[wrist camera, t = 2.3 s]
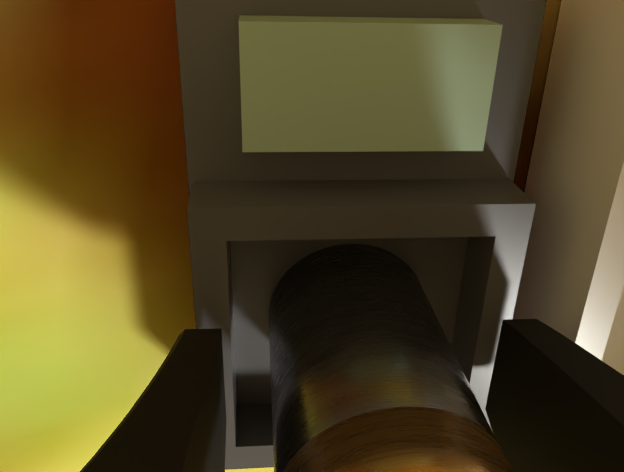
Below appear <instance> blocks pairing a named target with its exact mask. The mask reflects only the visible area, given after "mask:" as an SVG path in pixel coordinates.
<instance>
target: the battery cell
mask: <svg viewBox="0 0 624 472" xmlns="http://www.w3.org/2000/svg"><path fill="white" fill-rule="evenodd" d="M269 343H270V372H271V400H272V428H273V457H274V472H513V470H512V468H511V466H510V464H509V462H508V460H507V457H506V455H505V453H504V451H503V449H502V448H501V446H500V445H499V443H498V442H497V440H496V438H495V436H494V434H493V432H492V430H491V428H490V426H489V424H488V422H487V420H486V418H485V416H484V414H483V411H482V409H481V407H480V405H479V403H478V401H477V399H476V397H475V395H474V393H473V391H472V389H471V387H470V385H469V383H468V381H467V378H466V376H465V374H464V372H463V370H462V368H461V366H460V364H459V362H458V360H457V358H456V356H455V354H454V352H453V350H452V347H451V345H450V343H449V341H448V339H447V337H446V335H445V333H444V331H443V329H442V327H441V325H440V323H439V321H438V319H437V316H436V314H435V312H434V310H433V308H432V306H431V304H430V302H429V300H428V298H427V296H426V294H425V292H424V290H423V288H422V286H421V283H420V281H419V279H418V277H417V276H416V274H415V273H414V271H413V270H412V269H411V268H410V267H409V265H408V264H407V263H405V262H404V261H403V260H402V259H401V258H399V257H398V256H396V255H394V254H393V253H391V252H389V251H387V250H384V249H382V248H379V247H375V246H371V245H365V244H340V245H335V246H330V247H327V248H323V249H320V250H318V251H316V252H313V253H311V254H309V255H307V256H306V257H304V258H302V259H301V260H299V261H298V262H297V263H296V264H294V265H293V266H292V267H291V268H290V269H289V270H288V271H287V272H286V273H285V274H284V275H283V277H282V278H281V279H280V281H279V282H278V284H277V286H276V288H275V289H274V292H273V295H272V297H271V301H270V305H269Z"/></svg>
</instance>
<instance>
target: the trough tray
mask: <svg viewBox="0 0 624 472" xmlns="http://www.w3.org/2000/svg"><path fill="white" fill-rule="evenodd" d="M524 193H525V194H526V195H527V196H528V197H529V198H530V199H531V200H533V201H534V202H535V203H536V206H535V211H534V216H533V221H532V226H531V231H530V235H529V240H528V245H527V250H526V255H525V260H524V265H523V269H522V274H521V279H520V284H519V289H518V294H517V299H516V304H515V308H514V313H513V318H512V319H538V320H539V321H541V322H543V323H545V324H546V325H548V326H550V327H551V328H553V329H554V330H556V331H558V332H559V333H561V334H562V335H564V336H565V337H567V338H568V339H570V340H571V341H573V342H574V343H576V344H577V345H579V346H580V347H582V348H583V349H585V350H586V351H588V352H589V353H591V354H592V355H594V356H595V357H597V358H598V359H600V360H601V361H603V362H604V363H606V364H607V365H609V366H610V367H612V368H613V369H615V370H616V371H618V372H619V373H621V374H623V375H624V0H562V1H561V6H560V11H559V16H558V21H557V27H556V32H555V37H554V42H553V47H552V52H551V57H550V63H549V68H548V73H547V78H546V83H545V88H544V93H543V99H542V104H541V109H540V114H539V119H538V124H537V130H536V135H535V140H534V145H533V150H532V155H531V160H530V166H529V171H528V176H527V181H526V186H525V191H524ZM490 428H491V425H490ZM491 430H492V428H491ZM492 432H493V431H492Z"/></svg>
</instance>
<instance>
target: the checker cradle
mask: <svg viewBox="0 0 624 472" xmlns="http://www.w3.org/2000/svg"><path fill="white" fill-rule="evenodd" d="M546 1H547V0H175V11H176V25H177V38H178V52H179V65H180V79H181V92H182V106H183V119H184V133H185V146H186V160H187V173H188V187H189V202H188V206H187V217H188V230H189V243H190V256H191V269H192V282H193V295H194V308H195V321H196V329H216V328H221V329H222V347H223V366H224V384H225V403H226V449H225V469H245V468H264V467H274V457H273V428H272V400H271V372H270V343H269V305H270V301H271V297H272V295H273V292H274V289H275V288H276V286H277V284H278V282H279V281H280V279H281V278H282V277H283V275H284V274H285V273H286V272H287V271H288V270H289V269H290V268H291V267H292V266H293V265H294V264H296V263H297V262H298V261H299V260H301V259H302V258H304V257H306V256H307V255H309V254H311V253H313V252H316V251H318V250H320V249H323V248H327V247H330V246H335V245H340V244H365V245H371V246H375V247H379V248H382V249H384V250H387V251H389V252H391V253H393V254H394V255H396V256H398V257H399V258H401V259H402V260H403V261H404V262H405V263H407V264H408V265H409V267H410V268H411V269H412V270H413V271H414V273H415V274H416V276H417V277H418V279H419V281H420V283H421V286H422V288H423V290H424V292H425V294H426V296H427V298H428V300H429V302H430V304H431V306H432V308H433V310H434V312H435V314H436V316H437V319H438V321H439V323H440V325H441V327H442V329H443V331H444V333H445V335H446V337H447V339H448V341H449V343H450V345H451V347H452V350H453V352H454V354H455V356H456V358H457V360H458V362H459V364H460V366H461V368H462V370H463V372H464V374H465V376H466V378H467V381H468V383H469V385H470V387H471V389H472V391H473V393H474V395H475V397H476V399H477V401H478V403H479V405H480V407H481V409H482V411H483V414H484V416H485V418H486V420H487V422H488V424H489V426H490V422H489V419H488V416H487V413H486V410H485V407H486V402H487V397H488V392H489V387H490V382H491V377H492V372H493V367H494V362H495V357H496V352H497V347H498V341H499V336H500V331H501V326H502V321H503V320H508V319H512V318H513V313H514V308H515V304H516V299H517V294H518V289H519V284H520V279H521V274H522V269H523V265H524V260H525V255H526V250H527V245H528V240H529V235H530V231H531V226H532V221H533V216H534V211H535V206H536V203H535V202H534V201H533V200H531V199H530V198H529V197H528V196H527V195H526V194H525V193H524V192H523V191H522V190H521V189H520V188H519V187H517V186H516V185H515V184H514V183H513V181H514V175H515V170H516V165H517V159H518V154H519V148H520V143H521V137H522V132H523V126H524V121H525V116H526V110H527V105H528V99H529V94H530V88H531V83H532V78H533V72H534V67H535V61H536V56H537V50H538V45H539V39H540V34H541V29H542V23H543V18H544V12H545V7H546Z"/></svg>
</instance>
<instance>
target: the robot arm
mask: <svg viewBox="0 0 624 472" xmlns="http://www.w3.org/2000/svg"><path fill="white" fill-rule="evenodd" d="M485 410H486V413H487V416H488V419H489V422H490V425H491V428H492V431H493V434H494V436H495V438H496V440H497V442H498V443H499V445H500V446H501V448H502V449H503V451H504V453H505V455H506V457H507V460H508V462H509V464H510V466H511V468H512V470H513V472H624V375H623V374H621V373H619V372H618V371H616V370H615V369H613V368H612V367H610V366H609V365H607V364H606V363H604V362H603V361H601V360H600V359H598V358H597V357H595V356H594V355H592V354H591V353H589V352H588V351H586V350H585V349H583V348H582V347H580V346H579V345H577V344H576V343H574V342H573V341H571V340H570V339H568V338H567V337H565V336H564V335H562V334H561V333H559V332H558V331H556V330H554V329H553V328H551V327H550V326H548V325H546V324H545V323H543V322H541V321H539V320H538V319H508V320H503V321H502V326H501V331H500V336H499V341H498V347H497V352H496V357H495V362H494V367H493V372H492V377H491V382H490V387H489V392H488V397H487V402H486V407H485ZM225 449H226V403H225V384H224V366H223V347H222V329H221V328H216V329H185V330H184V331H183V332H182V333H181V334H180V335H179V336H178V338H177V340H176V342H175V344H174V345H173V347H172V349H171V351H170V352H169V354H168V356H167V357H166V359H165V360H164V362H163V364H162V365H161V367H160V368H159V370H158V371H157V373H156V374H155V376H154V377H153V379H152V380H151V382H150V383H149V385H148V386H147V387H146V389H145V390H144V392H143V393H142V394H141V396H140V397H139V399H138V400H137V401H136V403H135V404H134V406H133V407H132V408H131V410H130V411H129V413H128V414H127V415H126V417H125V418H124V419H123V420H122V422H121V423H120V424H119V425H118V427H117V428H116V429H115V430H114V432H113V433H112V434H111V435H110V436H109V438H108V439H107V440H106V441H105V443H104V444H103V445H102V446H101V448H100V449H99V450H98V451H97V453H96V454H95V455H94V456H93V457H92V458H91V460H90V461H89V462H88V463H87V464H86V465H85V466H84V468H83V469H82V470H81V471H80V472H225Z"/></svg>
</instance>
